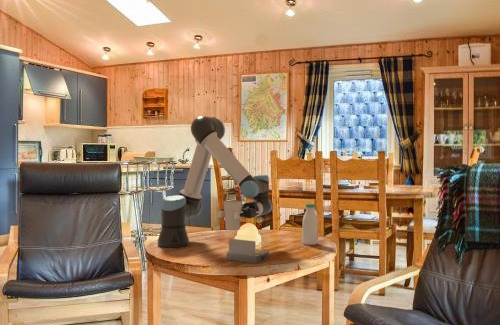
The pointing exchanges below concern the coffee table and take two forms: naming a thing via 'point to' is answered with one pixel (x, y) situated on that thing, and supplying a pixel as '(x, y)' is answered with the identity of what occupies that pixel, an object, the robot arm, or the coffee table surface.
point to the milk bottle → (310, 226)
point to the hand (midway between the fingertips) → (226, 215)
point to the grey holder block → (245, 252)
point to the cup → (232, 214)
